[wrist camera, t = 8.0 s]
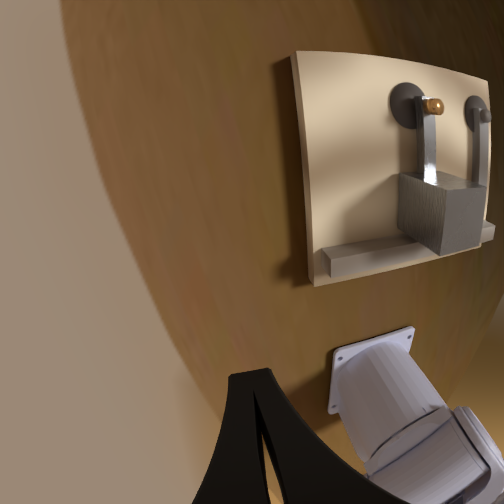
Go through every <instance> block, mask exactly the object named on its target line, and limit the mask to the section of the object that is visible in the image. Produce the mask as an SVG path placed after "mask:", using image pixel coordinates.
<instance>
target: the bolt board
mask: <svg viewBox="0 0 504 504" xmlns="http://www.w3.org/2000/svg"><path fill="white" fill-rule="evenodd" d="M290 58H291V66H292V73H293V81H294V89H295V98H296V106H297V116H298V125H299V135H300V146H301V157H302V170H303V183H304V197H305V213H306V231H307V253H308V278H309V280H310V281H311V283H312V284H313V286H314V287H316V286H321V285H326V284H330V283H335V282H340V281H345V280H349V279H354V278H358V277H363V276H367V275H372V274H376V273H380V272H385V271H389V270H393V269H397V268H402V267H406V266H410V265H414V264H418V263H422V262H426V261H430V260H434V259H438V258H441V257H445V256H449V255H453V254H457V253H460V252H464V251H468V250H471V249H475V248H478V247H481V243H483V242H486V241H490V240H493V236H494V230H495V225H493V224H491V223H489V222H487V221H485V217H486V210H487V201H488V191H489V178H490V158H491V124H490V121H491V113H490V104H489V92H488V82H487V81H485V80H482V79H479V78H476V77H473V76H469V75H466V74H463V73H459V72H455V71H452V70H448V69H444V68H440V67H436V66H431V65H427V64H422V63H417V62H412V61H406V60H401V59H394V58H388V57H381V56H373V55H364V54H354V53H341V52H322V51H296V52H294V53H293V54H292V55H290ZM414 96H426V97H433V98H438V99H440V100H441V101H442V102H443V104H444V113H443V114H442V115H435V123H436V171H442V172H445V173H448V174H452V175H455V176H458V177H461V178H463V179H466V180H469V181H472V182H475V183H478V184H480V185H483V186H486V187H487V192H486V202H485V211H484V218H483V225H482V232H481V238H480V243H479V246H477V247H474V248H470V249H466V250H463V251H459V252H455V253H451V254H447V255H444V256H438V255H437V254H435V253H434V252H432V251H431V250H429V249H428V248H427V247H425V246H424V245H422V244H421V243H419V242H418V241H416V240H415V239H413V238H412V237H410V236H409V235H407V234H405V233H404V232H402V231H401V230H399V229H398V228H397V222H398V201H399V173H403V172H417V139H416V117H415V103H414Z"/></svg>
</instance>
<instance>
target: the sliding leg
mask: <svg viewBox="0 0 504 504" xmlns="http://www.w3.org/2000/svg"><path fill="white" fill-rule="evenodd" d="M414 103H415V117H416V139H417V172H403V173H399V201H398V222H397V228H398V229H399V230H401V231H402V232H404V233H405V234H407V235H409V236H410V237H412V238H413V239H415V240H416V241H418V242H419V243H421V244H422V245H424V246H425V247H427V248H428V249H429V250H431V251H432V252H434V253H435V254H437V255H438V256H444V255H447V254H451V253H455V252H459V251H463V250H466V249H470V248H474V247H477V246H479V243H480V238H481V232H482V225H483V218H484V211H485V202H486V192H487V187H486V186H483V185H480V184H478V183H475V182H472V181H469V180H466V179H463V178H461V177H458V176H455V175H452V174H448V173H445V172H442V171H436V123H435V115H442V114H443V113H444V104H443V102H442V101H441V100H440V99H438V98H433V97H426V96H414Z"/></svg>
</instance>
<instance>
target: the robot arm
mask: <svg viewBox="0 0 504 504" xmlns="http://www.w3.org/2000/svg"><path fill="white" fill-rule="evenodd" d="M414 331H415V329H414V328H413V327H412V326H409V327H406V328H403V329H400V330H397V331H394V332H391V333H388V334H385V335H382V336H378V337H375V338H372V339H369V340H365V341H362V342H358V343H355V344H351V345H348V346H344V347H340V348H337V349H336V350H335V351H334V353H333V364H332V375H331V385H330V395H329V403H328V413H329V414H335V413H339V415H340V417H341V420H342V422H343V424H344V427H345V429H346V431H347V433H348V436H349V438H350V440H351V443H352V445H353V447H354V450H355V452H356V454H357V455H358V457H359V458H360V459H361V460H362V461H363V462H365V463H364V467H365V469H366V471H367V473H366V474H364V475H362V474H360V473H359V472H357V471H356V470H355V469H353V468H352V467H351V466H350V465H348V464H347V463H346V462H345V461H344V460H342V459H341V458H340V457H339V456H338V455H337V454H335V453H334V452H333V451H332V450H331V449H330V448H329V447H328V446H327V445H326V444H325V443H324V442H323V441H322V440H321V439H320V438H319V437H318V436H317V435H316V434H315V433H314V432H313V430H312V429H311V428H310V427H309V426H308V425H307V424H306V422H305V421H304V420H303V419H302V418H301V416H300V415H299V414H298V412H297V411H296V410H295V408H294V407H293V406H292V405H291V403H290V402H289V400H288V399H287V397H286V396H285V394H284V393H283V391H282V390H281V388H280V386H279V385H278V383H277V381H276V379H275V377H274V375H273V373H272V370H271V369H269V368H264V369H258V370H253V371H247V372H242V373H236V374H231V375H230V376H229V377H228V394H227V401H226V407H225V412H224V416H223V421H222V425H221V429H220V434H219V437H218V440H217V443H216V447H215V450H214V453H213V456H212V459H211V461H210V464H209V467H208V470H207V472H206V474H205V477H204V479H203V481H202V484H201V486H200V488H199V490H198V492H197V494H196V496H195V498H194V500H193V502H192V504H271V502H270V497H269V493H268V487H267V479H266V470H265V461H264V452H263V442H262V435H263V438H264V441H265V444H266V447H267V450H268V453H269V456H270V459H271V462H272V465H273V468H274V471H275V474H276V477H277V479H278V483H279V486H280V489H281V493H282V497H283V501H284V504H504V492H503V490H504V459H503V457H502V456H501V452H500V450H499V449H498V447H497V445H496V444H495V442H494V441H493V439H492V438H491V437H490V435H489V434H488V432H487V431H486V430H485V428H484V427H483V425H482V424H481V423H480V421H479V420H478V419H477V417H476V416H475V415H474V413H473V412H472V411H471V409H470V408H469V407H467V406H464V407H461V406H458V407H456V408H455V409H454V412H453V411H452V410H451V409H450V408H448V406H447V405H446V404H445V402H444V401H443V399H442V398H441V397H440V395H439V394H438V392H437V391H436V390H435V388H434V387H433V386H432V384H431V383H430V381H429V380H428V379H427V377H426V376H425V375H424V373H423V372H422V371H421V369H420V368H419V367H418V365H417V364H416V363H415V361H414V360H413V359H412V358H411V356H410V355H409V354H408V353H409V350H410V346H411V343H412V339H413V335H414ZM261 432H262V433H261Z"/></svg>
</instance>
